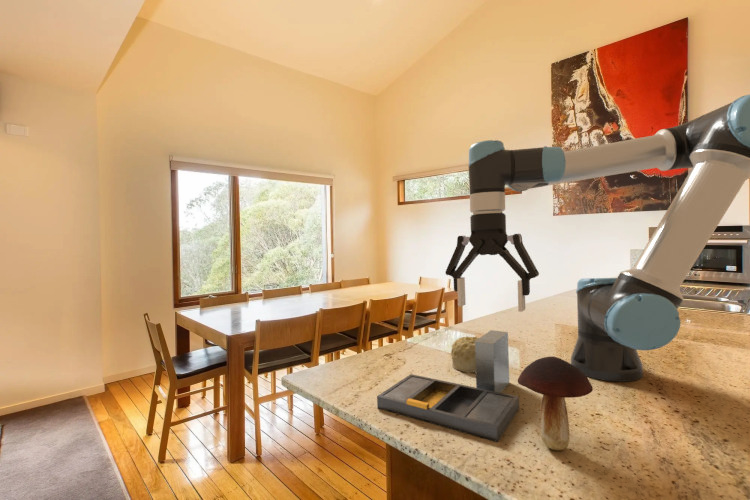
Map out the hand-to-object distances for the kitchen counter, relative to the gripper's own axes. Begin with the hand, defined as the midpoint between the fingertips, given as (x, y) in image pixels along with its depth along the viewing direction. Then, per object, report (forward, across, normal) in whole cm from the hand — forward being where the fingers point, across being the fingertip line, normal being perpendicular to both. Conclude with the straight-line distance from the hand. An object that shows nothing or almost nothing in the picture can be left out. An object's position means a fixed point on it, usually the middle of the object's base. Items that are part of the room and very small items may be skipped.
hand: (490, 308), depth 84 cm
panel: (+18, 0, 0) cm, 19 cm away
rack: (+18, +5, +14) cm, 24 cm away
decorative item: (+19, +10, -11) cm, 24 cm away
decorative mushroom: (+19, -16, +18) cm, 31 cm away
